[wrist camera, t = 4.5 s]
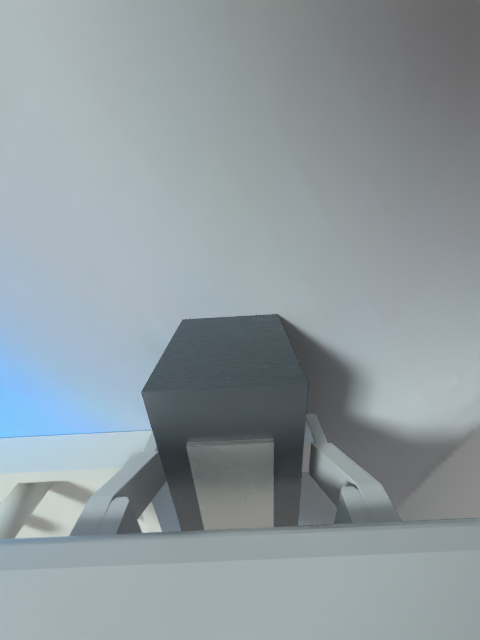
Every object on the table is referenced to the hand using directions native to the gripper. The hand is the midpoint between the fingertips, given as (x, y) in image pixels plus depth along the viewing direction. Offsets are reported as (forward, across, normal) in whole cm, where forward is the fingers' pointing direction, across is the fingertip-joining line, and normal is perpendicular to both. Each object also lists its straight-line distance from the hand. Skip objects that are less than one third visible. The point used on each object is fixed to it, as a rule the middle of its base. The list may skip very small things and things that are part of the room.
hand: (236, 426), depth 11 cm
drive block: (+2, 0, 0) cm, 2 cm away
